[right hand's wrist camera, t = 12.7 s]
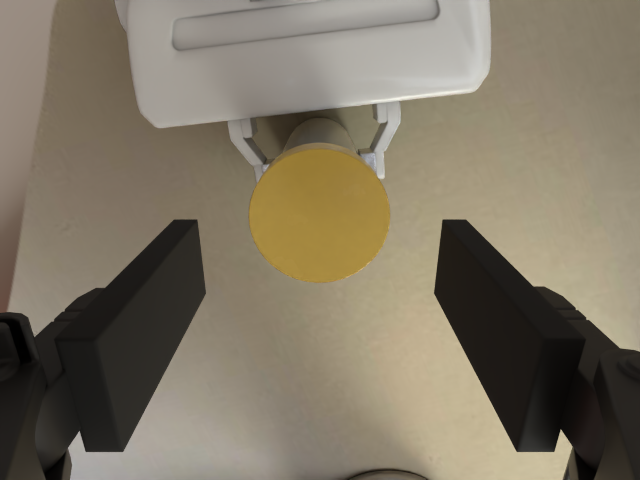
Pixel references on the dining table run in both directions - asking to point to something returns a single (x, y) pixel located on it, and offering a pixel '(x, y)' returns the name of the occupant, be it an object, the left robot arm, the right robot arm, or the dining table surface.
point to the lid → (319, 213)
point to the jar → (319, 134)
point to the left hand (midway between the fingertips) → (321, 183)
